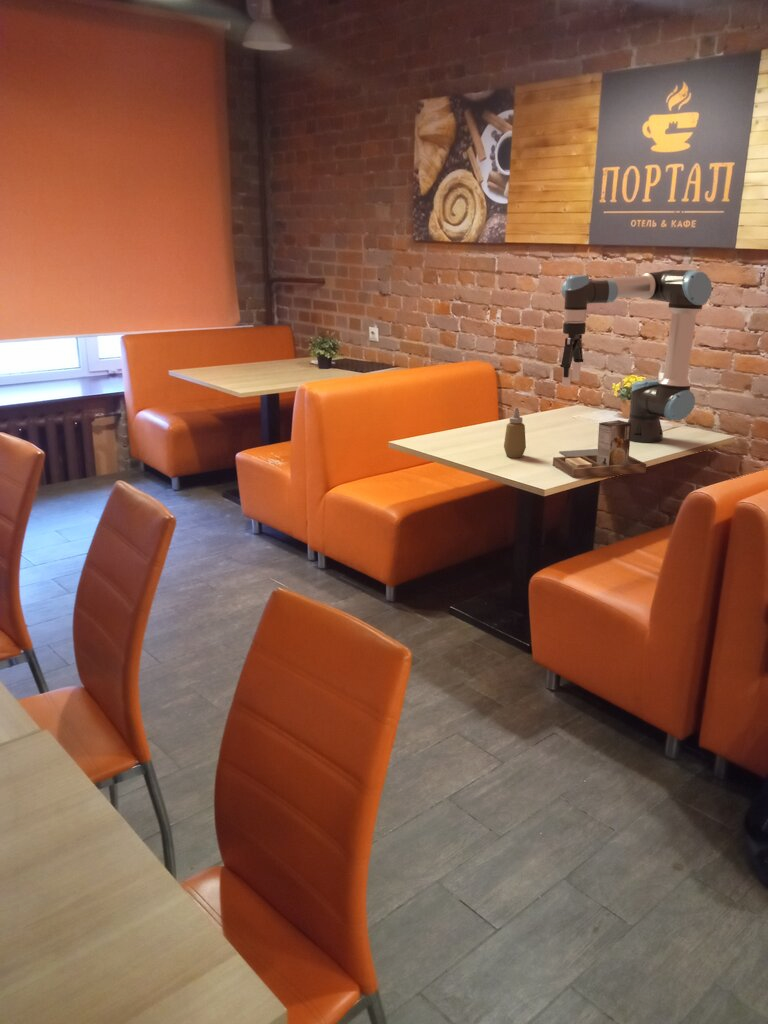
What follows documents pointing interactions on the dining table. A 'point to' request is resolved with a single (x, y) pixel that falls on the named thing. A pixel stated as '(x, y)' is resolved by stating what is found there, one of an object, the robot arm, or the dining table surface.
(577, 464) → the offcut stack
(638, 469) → the wooden tray
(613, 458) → the coffee box
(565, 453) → the mat
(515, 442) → the squeeze bottle
